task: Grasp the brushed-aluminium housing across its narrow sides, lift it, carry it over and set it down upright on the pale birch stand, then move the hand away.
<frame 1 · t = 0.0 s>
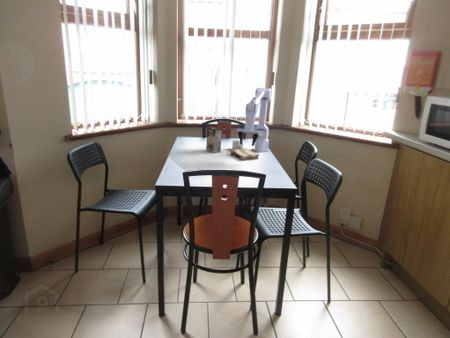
hand: (246, 145, 193), 11 cm above the table, tool pointing down, fingers open, 7 cm apart
coffee box: (213, 151, 216), on the table
stand: (244, 156, 208), on the table
housing: (237, 150, 223), on the table
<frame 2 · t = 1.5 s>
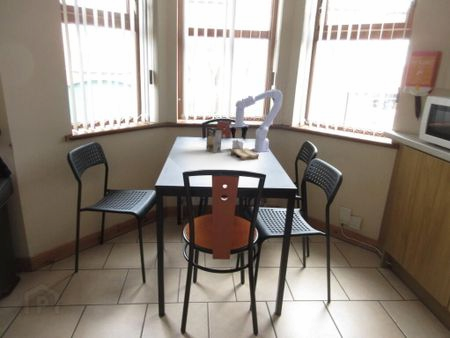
hand: (238, 137, 220), 9 cm above the table, tool pointing down, fingers open, 7 cm apart
nothing on the table moved.
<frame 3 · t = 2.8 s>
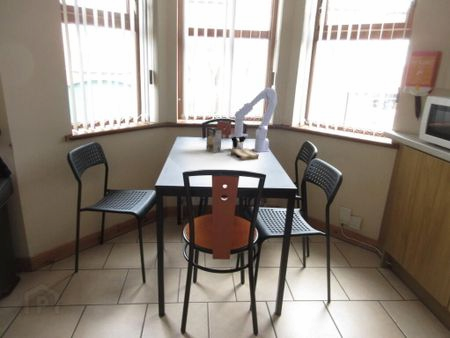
hand: (237, 147, 222), 2 cm above the table, tool pointing down, fingers closed on housing, 4 cm apart
housing: (237, 149, 223), on the table, touching gripper
everything else where it was.
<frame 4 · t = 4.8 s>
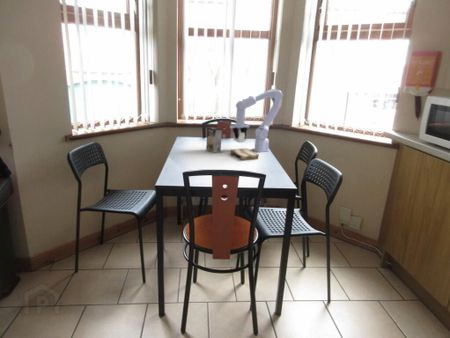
hand: (239, 138, 218), 9 cm above the table, tool pointing down, fingers closed on housing, 4 cm apart
housing: (238, 141, 219), point 7 cm above the table, touching gripper
everything else where it was.
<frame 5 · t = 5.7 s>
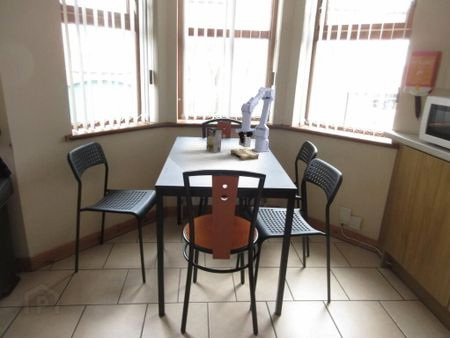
hand: (244, 142, 206), 9 cm above the table, tool pointing down, fingers closed on housing, 4 cm apart
housing: (244, 145, 206), point 7 cm above the table, touching gripper
everything else where it was.
when the fingers open (6 cm above the table, at t = 6.7 s): housing drops 1 cm, resting on stand.
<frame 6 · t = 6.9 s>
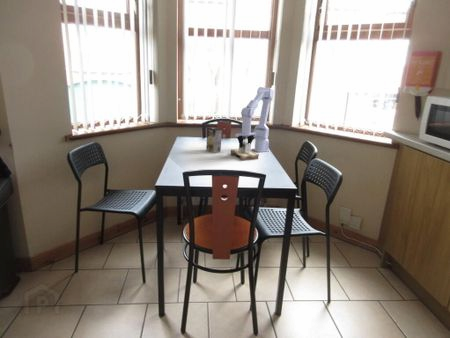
hand: (244, 147, 206), 6 cm above the table, tool pointing down, fingers open, 5 cm apart
housing: (244, 151, 207), point 3 cm above the table, touching stand
everything else where it was.
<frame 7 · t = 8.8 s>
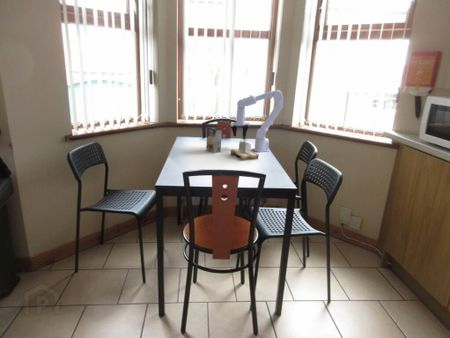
hand: (239, 135, 224), 9 cm above the table, tool pointing down, fingers open, 7 cm apart
nothing on the table moved.
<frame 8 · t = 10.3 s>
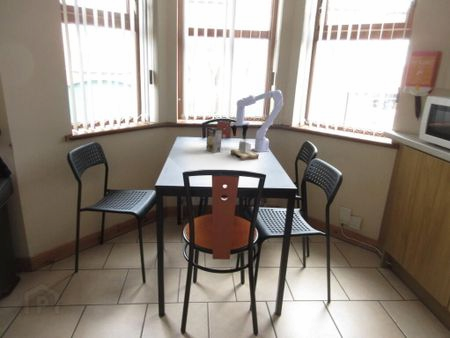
hand: (239, 135, 225), 9 cm above the table, tool pointing down, fingers open, 7 cm apart
nothing on the table moved.
at the end: housing inside the target area on the stand (0.1 cm from its centre), point 3.0 cm above the stand's base; housing tilted 0°; the gripper is holding nothing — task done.
